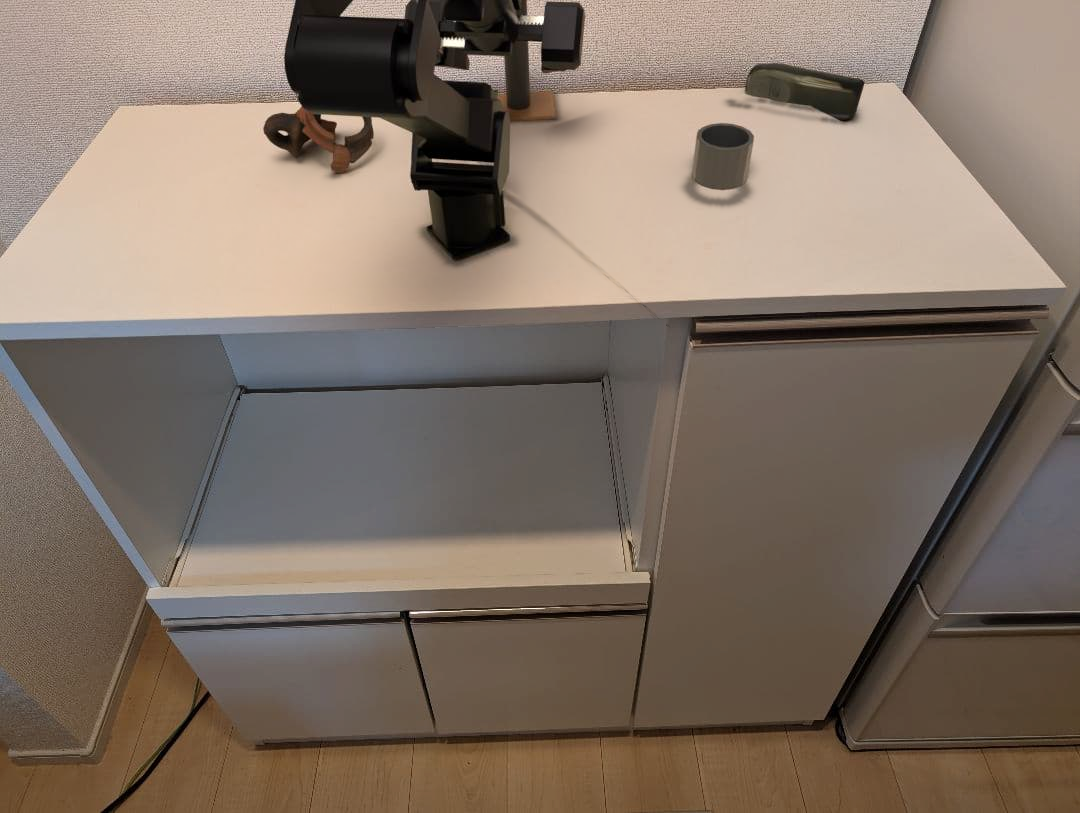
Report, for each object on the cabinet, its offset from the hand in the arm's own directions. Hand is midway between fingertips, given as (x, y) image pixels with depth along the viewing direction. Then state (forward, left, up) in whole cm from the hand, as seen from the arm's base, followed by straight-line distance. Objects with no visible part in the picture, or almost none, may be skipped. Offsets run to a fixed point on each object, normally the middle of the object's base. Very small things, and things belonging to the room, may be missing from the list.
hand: (506, 67), depth 92 cm
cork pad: (+4, +5, -8) cm, 10 cm away
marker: (+4, +5, -7) cm, 10 cm away
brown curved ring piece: (-21, +7, -8) cm, 24 cm away
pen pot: (+12, -24, -8) cm, 28 cm away
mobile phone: (+32, -15, -8) cm, 36 cm away
